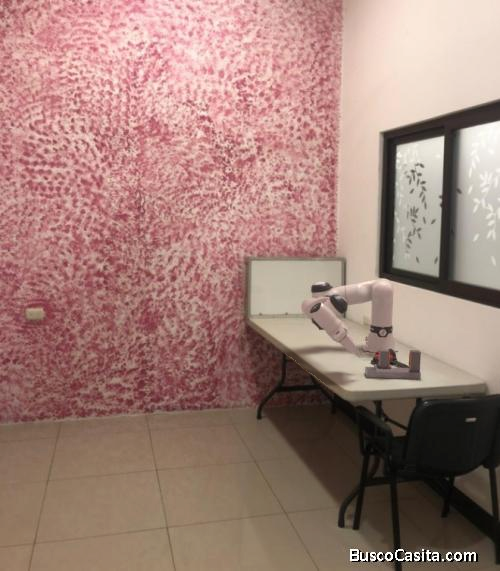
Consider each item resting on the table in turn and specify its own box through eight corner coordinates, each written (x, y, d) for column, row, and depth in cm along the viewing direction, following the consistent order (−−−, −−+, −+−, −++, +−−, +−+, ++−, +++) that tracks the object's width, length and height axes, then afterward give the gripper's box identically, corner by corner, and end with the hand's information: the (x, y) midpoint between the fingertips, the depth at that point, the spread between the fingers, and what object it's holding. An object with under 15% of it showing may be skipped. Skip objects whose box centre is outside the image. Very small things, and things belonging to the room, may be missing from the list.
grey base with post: (364, 373, 282) (365, 347, 280) (416, 374, 280) (418, 349, 279) (366, 377, 274) (367, 351, 273) (420, 379, 272) (421, 353, 271)
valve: (361, 363, 308) (385, 356, 314) (392, 379, 285) (417, 371, 290) (360, 351, 307) (385, 345, 312) (391, 366, 283) (417, 359, 289)
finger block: (378, 368, 279) (379, 349, 278) (387, 368, 279) (388, 349, 278) (379, 370, 275) (380, 351, 274) (389, 370, 275) (390, 351, 274)
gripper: (332, 332, 287) (351, 352, 287) (335, 341, 267) (356, 363, 267) (341, 323, 286) (361, 343, 287) (345, 331, 266) (367, 354, 266)
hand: (359, 353), depth 277 cm, fingers open, 8 cm apart
